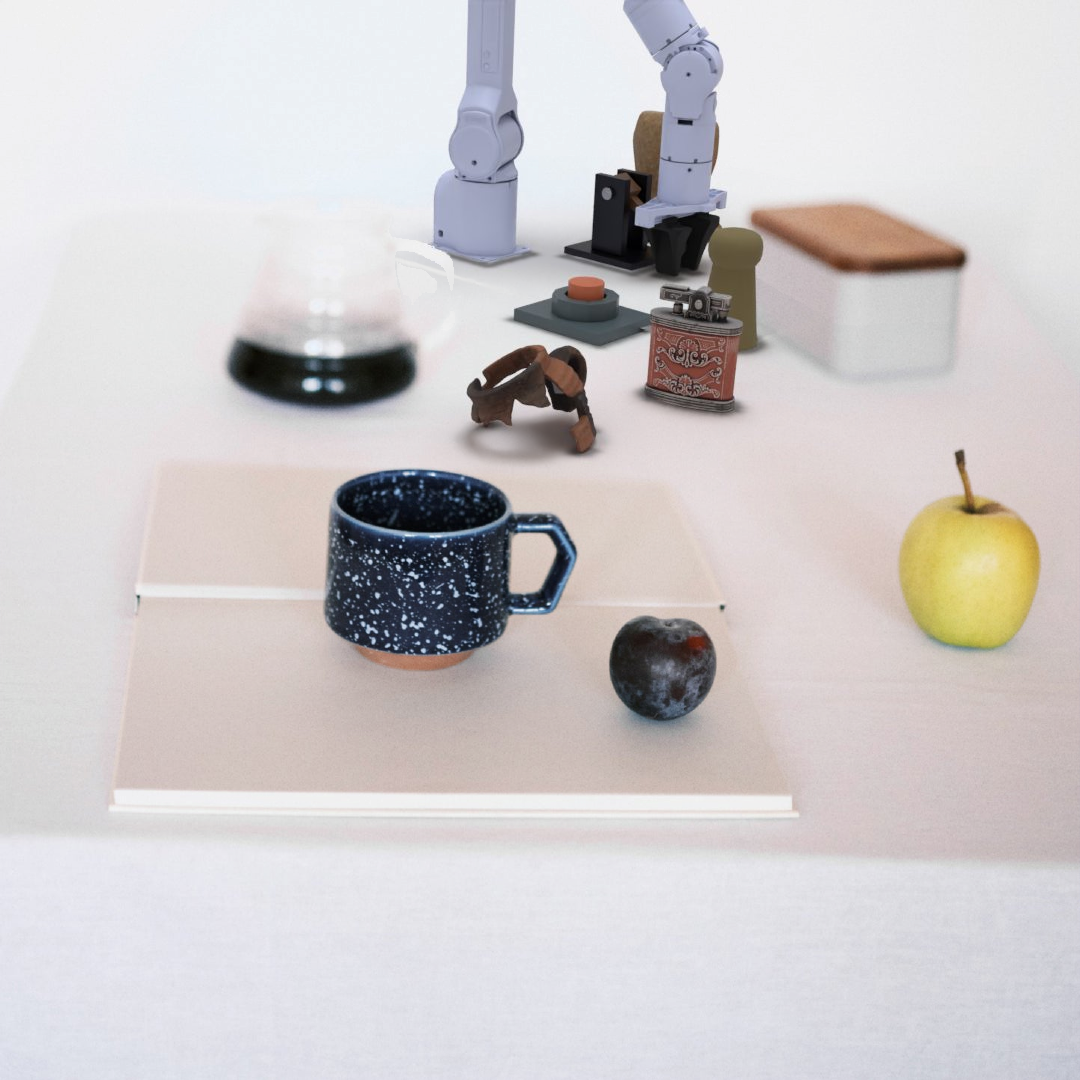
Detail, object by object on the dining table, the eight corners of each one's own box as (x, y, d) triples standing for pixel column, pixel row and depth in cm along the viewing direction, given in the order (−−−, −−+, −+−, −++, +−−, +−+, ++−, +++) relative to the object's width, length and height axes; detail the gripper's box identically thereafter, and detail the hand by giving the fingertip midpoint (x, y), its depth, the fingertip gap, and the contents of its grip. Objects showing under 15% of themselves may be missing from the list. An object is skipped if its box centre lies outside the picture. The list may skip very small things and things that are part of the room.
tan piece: (706, 223, 178) (717, 103, 171) (728, 247, 167) (741, 120, 160) (590, 222, 176) (597, 100, 169) (605, 246, 165) (613, 117, 158)
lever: (683, 263, 156) (698, 242, 154) (666, 268, 154) (681, 247, 152) (617, 190, 159) (630, 169, 157) (600, 194, 157) (613, 172, 155)
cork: (737, 356, 130) (749, 240, 126) (683, 341, 134) (693, 229, 129) (768, 341, 135) (781, 229, 130) (715, 328, 138) (726, 218, 133)
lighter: (738, 402, 119) (751, 290, 115) (726, 415, 116) (739, 300, 112) (652, 386, 122) (660, 275, 118) (638, 397, 119) (646, 284, 115)
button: (560, 297, 136) (560, 280, 135) (583, 291, 139) (584, 274, 138) (588, 306, 134) (589, 288, 133) (611, 298, 137) (612, 281, 136)
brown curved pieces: (579, 474, 105) (527, 385, 102) (486, 495, 111) (434, 411, 108) (636, 390, 113) (590, 305, 110) (547, 414, 119) (500, 334, 116)
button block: (513, 320, 138) (514, 290, 136) (571, 302, 144) (572, 274, 143) (598, 346, 131) (600, 316, 130) (655, 327, 138) (657, 297, 136)
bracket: (673, 262, 160) (680, 176, 156) (631, 274, 155) (637, 186, 150) (606, 245, 166) (611, 162, 161) (563, 256, 160) (567, 171, 156)
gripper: (676, 173, 142) (666, 300, 148) (753, 155, 152) (741, 276, 158) (622, 162, 146) (615, 287, 152) (701, 146, 156) (691, 263, 162)
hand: (676, 280), depth 156 cm, fingers closed on lever, 3 cm apart
